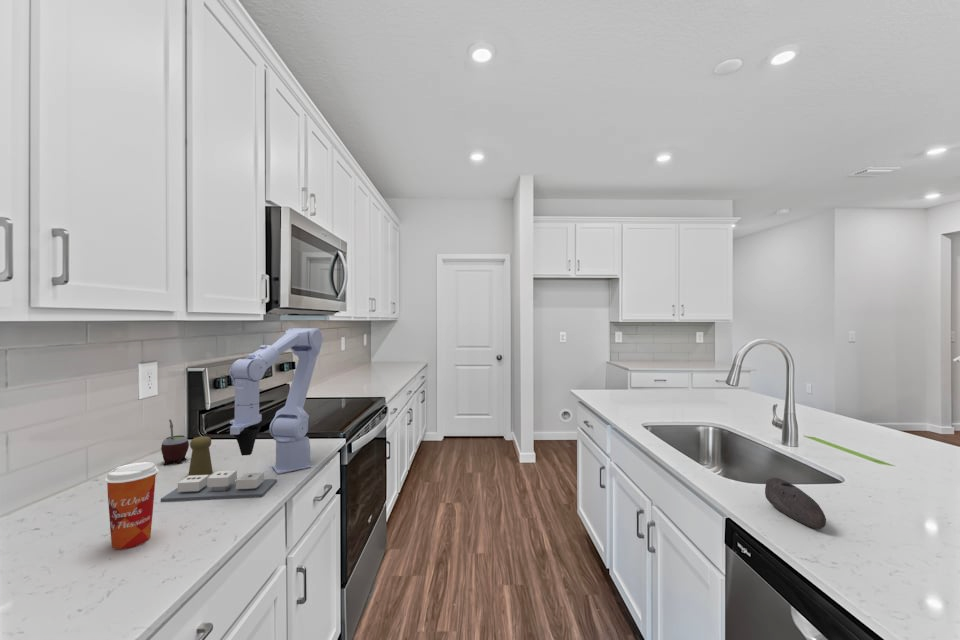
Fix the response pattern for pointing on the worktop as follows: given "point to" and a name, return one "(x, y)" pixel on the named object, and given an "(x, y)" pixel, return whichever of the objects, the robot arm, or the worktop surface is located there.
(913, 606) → the worktop surface
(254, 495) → the keypad base
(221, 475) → the key two
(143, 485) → the coffee cup
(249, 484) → the key one
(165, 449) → the mate gourd
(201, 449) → the cork
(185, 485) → the key three
